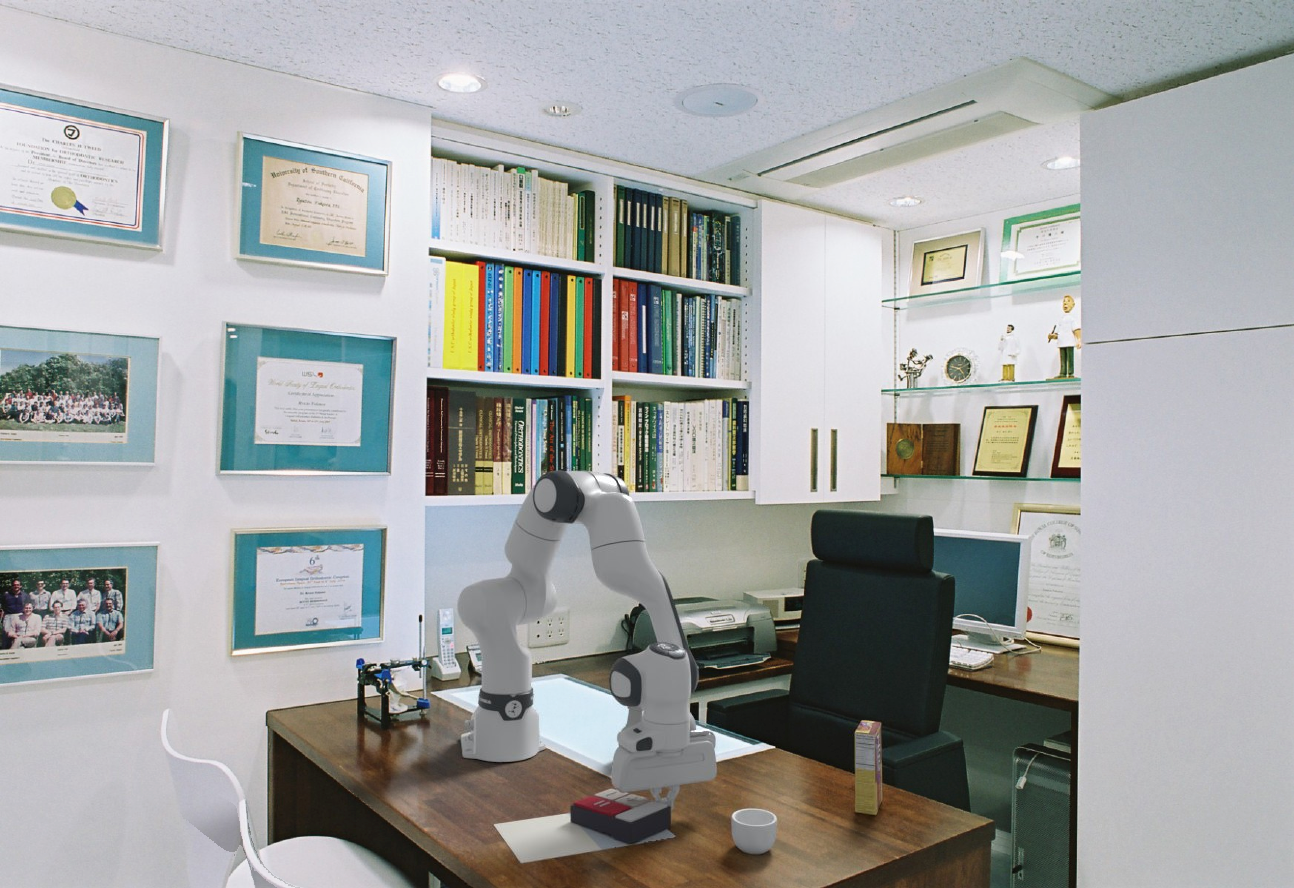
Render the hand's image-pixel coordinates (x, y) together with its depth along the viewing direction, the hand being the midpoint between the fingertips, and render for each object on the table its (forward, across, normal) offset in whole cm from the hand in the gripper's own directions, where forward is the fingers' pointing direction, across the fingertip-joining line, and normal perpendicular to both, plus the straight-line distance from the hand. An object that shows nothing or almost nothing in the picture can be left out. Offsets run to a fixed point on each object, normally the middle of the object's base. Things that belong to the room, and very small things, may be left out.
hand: (664, 809), depth 168 cm
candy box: (+2, -39, +9) cm, 40 cm away
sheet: (+2, +16, 0) cm, 16 cm away
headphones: (+2, -15, -35) cm, 38 cm away
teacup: (+2, -9, +17) cm, 20 cm away
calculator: (+2, +9, 0) cm, 9 cm away
